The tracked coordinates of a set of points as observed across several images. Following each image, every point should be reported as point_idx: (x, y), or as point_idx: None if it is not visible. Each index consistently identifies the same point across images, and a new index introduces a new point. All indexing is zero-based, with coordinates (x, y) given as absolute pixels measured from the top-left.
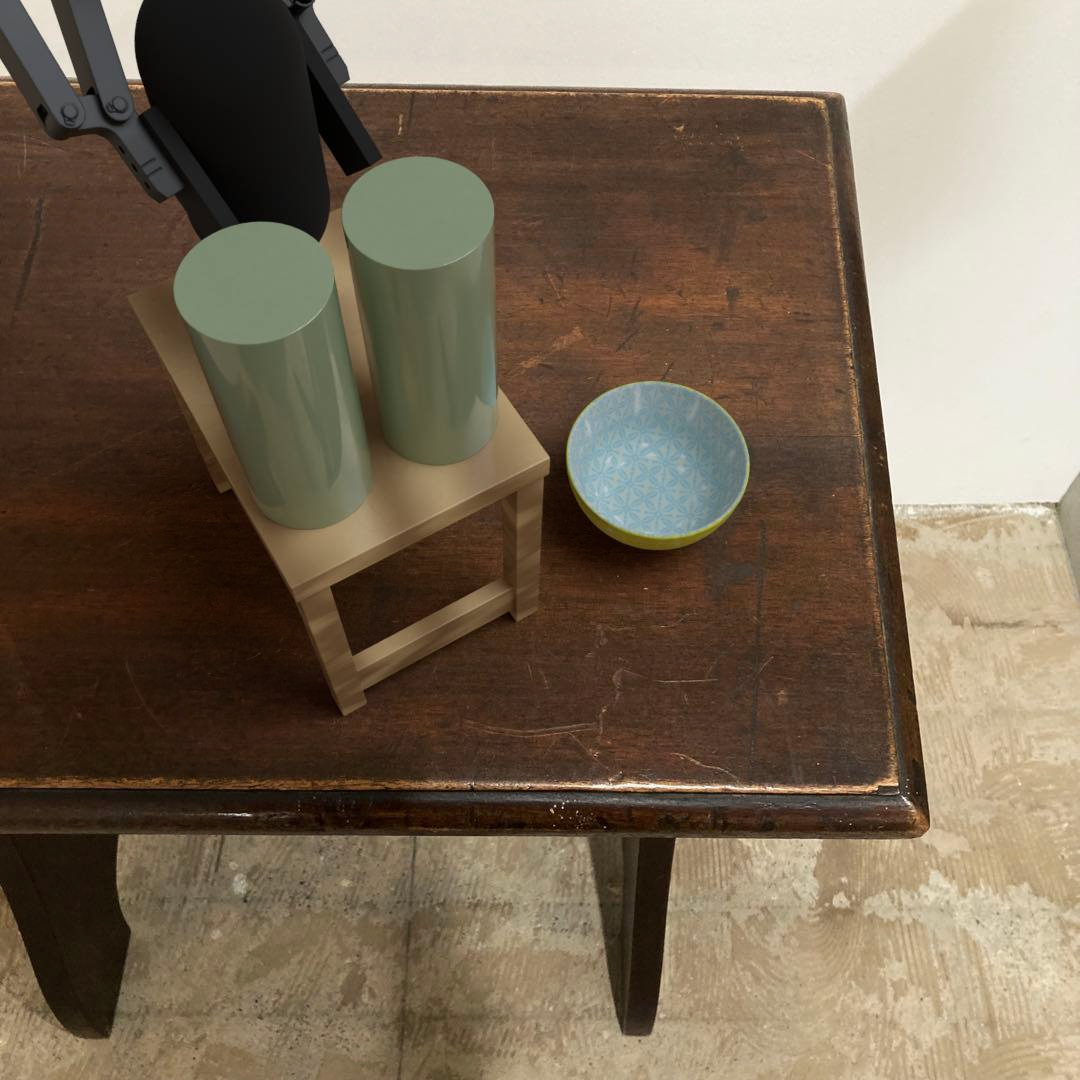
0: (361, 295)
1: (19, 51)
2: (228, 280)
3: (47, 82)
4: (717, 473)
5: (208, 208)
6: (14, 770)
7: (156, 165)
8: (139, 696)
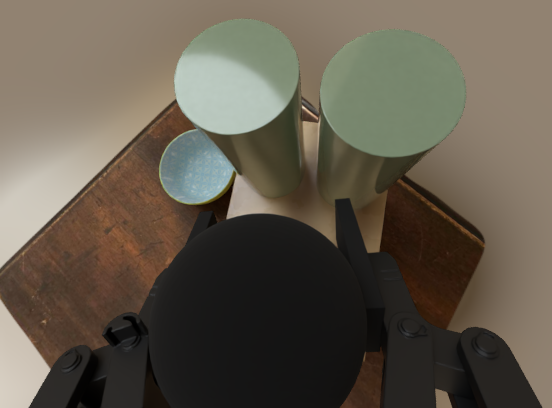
0: (301, 110)
1: None
2: (409, 103)
3: (514, 396)
4: (182, 159)
5: (358, 225)
6: (482, 250)
7: (385, 274)
8: (422, 243)
